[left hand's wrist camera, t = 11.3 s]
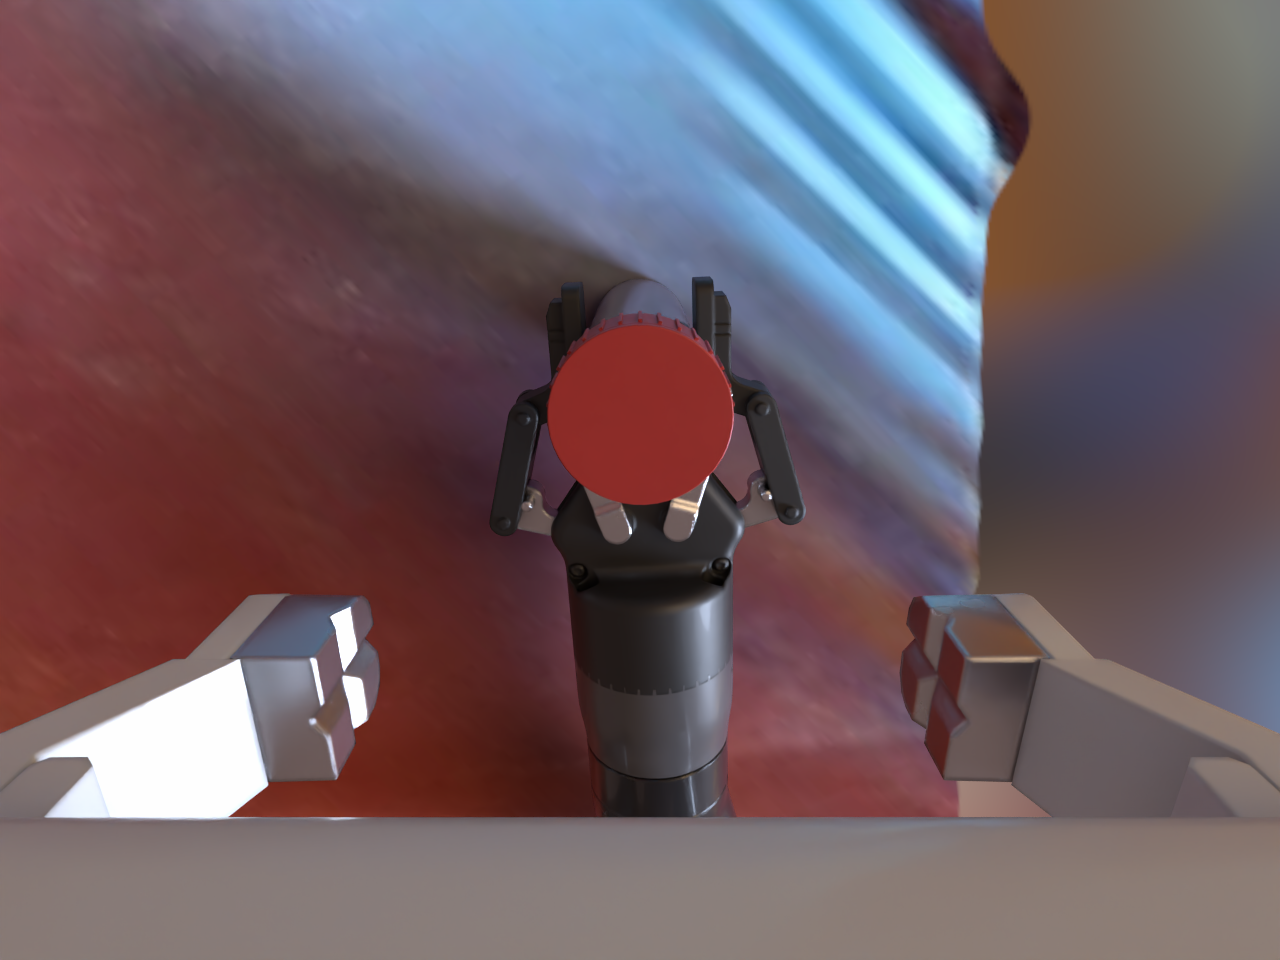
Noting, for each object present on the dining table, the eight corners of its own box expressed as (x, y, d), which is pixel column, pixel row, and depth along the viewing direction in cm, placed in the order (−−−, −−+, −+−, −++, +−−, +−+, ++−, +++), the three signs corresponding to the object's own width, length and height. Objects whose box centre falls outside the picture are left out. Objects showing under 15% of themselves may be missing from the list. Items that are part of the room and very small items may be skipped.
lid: (527, 343, 22) (515, 358, 20) (699, 285, 21) (705, 295, 19) (587, 500, 24) (582, 529, 22) (747, 451, 23) (758, 476, 21)
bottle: (581, 296, 35) (539, 365, 20) (670, 266, 35) (692, 314, 20) (612, 382, 37) (593, 505, 22) (697, 354, 36) (736, 461, 21)
